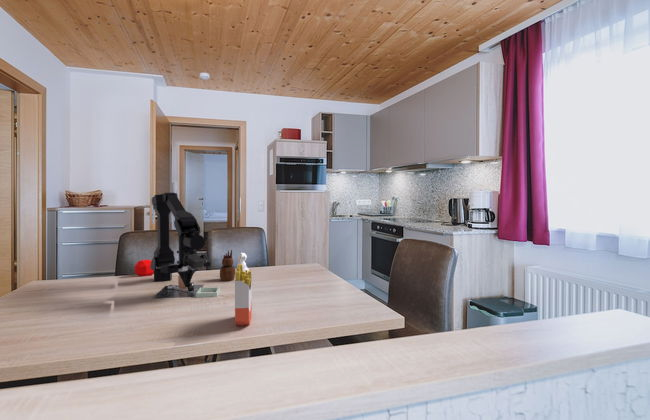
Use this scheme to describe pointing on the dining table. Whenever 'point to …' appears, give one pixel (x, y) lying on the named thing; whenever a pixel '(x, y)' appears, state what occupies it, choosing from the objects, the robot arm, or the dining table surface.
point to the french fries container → (243, 296)
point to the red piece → (143, 268)
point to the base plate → (176, 293)
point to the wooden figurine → (227, 268)
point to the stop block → (181, 283)
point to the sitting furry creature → (242, 261)
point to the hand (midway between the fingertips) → (187, 287)
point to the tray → (208, 289)
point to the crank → (190, 288)
